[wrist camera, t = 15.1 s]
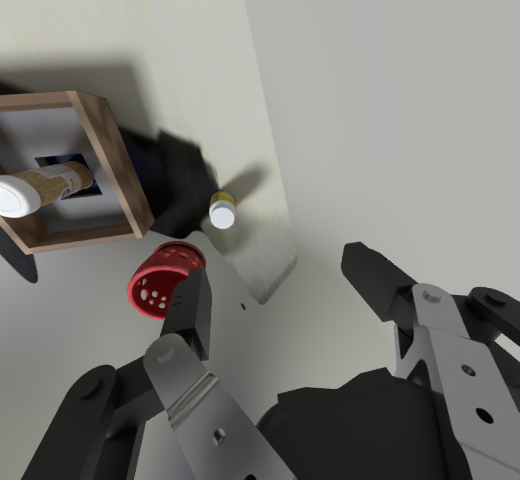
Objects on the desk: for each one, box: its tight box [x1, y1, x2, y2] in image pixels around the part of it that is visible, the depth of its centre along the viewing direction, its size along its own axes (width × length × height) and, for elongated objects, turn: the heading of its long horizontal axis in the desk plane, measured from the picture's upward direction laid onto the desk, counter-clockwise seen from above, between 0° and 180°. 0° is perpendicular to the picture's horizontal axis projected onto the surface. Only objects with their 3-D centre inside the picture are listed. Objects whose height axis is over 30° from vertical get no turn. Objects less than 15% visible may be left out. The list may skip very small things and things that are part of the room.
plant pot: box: [127, 241, 206, 320], centre depth 39 cm, size 13×13×12 cm
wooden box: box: [0, 91, 155, 254], centre depth 29 cm, size 20×18×7 cm
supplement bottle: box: [209, 191, 236, 229], centre depth 35 cm, size 5×5×8 cm
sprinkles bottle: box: [0, 161, 94, 218], centre depth 27 cm, size 5×5×14 cm
